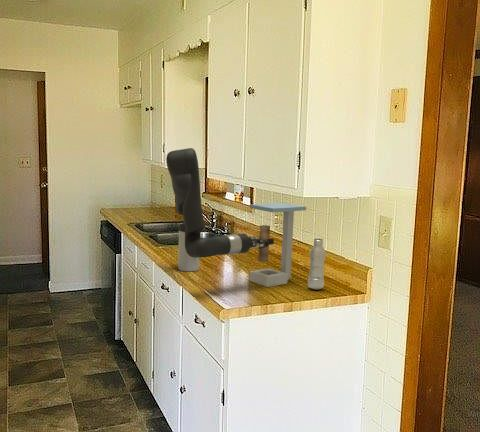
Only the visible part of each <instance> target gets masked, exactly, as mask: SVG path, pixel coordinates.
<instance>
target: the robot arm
mask: <svg viewBox="0 0 480 432" xmlns="http://www.w3.org/2000/svg"><path fill="white" fill-rule="evenodd" d="M165 159H166V160H165V161H166V167H167V171H168V173H169V175H170V179H171V185H172V186H171V187H172V190H173V193H174V197H175V209H176V212H177V214H179V215H181V216H182V217H183V222H181V223H179V225H178V250H177V252H178V254H177V255H178V256H177V257H178V258H177V259H178V260H177V262H178V263H177V269H178V270H179V271H181V272H195V271H199V270H200V258H202V259H203V258H208V257H214V256H223V255H225V256H226V255H238V254H244V253H245V254H246V253H248V252H249V251H250V249H256V248H258V249H259V248H260V249H261V248H265V247H269V248H270V246H272V245H274V243H275V239H274V238H269V239H261V238H259V236H254V235H250V236H249V235H247V233H233V234H225V235H220V236H219V235H218V236H217V235H216V236H213V237H201V232H202V231H203V230H204V229H205V220H204V214H203V209H202V208H203V207H202V195H201V184H200V183H201V182H200V181H201V179H200V169H199V168H200V167H199V161H198V155H197V152H196V150H195V149H194V148H193V147H190V148H189V147H188V148H183V149H182V148H181V149H176V150H171V151H169V152H168V153H167V154H166V158H165Z"/></svg>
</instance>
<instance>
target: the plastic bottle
mask: <svg viewBox="0 0 480 432" xmlns="http://www.w3.org/2000/svg"><path fill="white" fill-rule="evenodd" d="M312 243H313V246H312V247H311V248H310V249H309V265H310V266H309V273H308V278H307V286H308V288H309V289H311V290H322V289H323V288H324V284H325V277H324V269H325V267H324V266H325V260H326V254H327V252H326V250H325V247H324V239H323V238H313V242H312Z"/></svg>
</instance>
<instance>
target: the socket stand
mask: <svg viewBox="0 0 480 432" xmlns="http://www.w3.org/2000/svg"><path fill="white" fill-rule="evenodd" d="M249 206H250V209H251V210H252V209H253V210H258V211H263V212H269V213H282V212H283V219H282V220H283V221H282V222H283V223H282V238H281V239H282V241H281V243H282V244H281V259H280V260H281V261H280V263H281V264H280V270H277V269H274V268H271V267H269V268H262V269H257V270H250V271H249V281H250V282H252V283H255V284H258V285H260V286H262V287H263V286H264V287H266V288H268V287H269V288H270V287H274V286H279V285H286V284H288V281H289V279H290V280H292V279H291V276H292V261H293V260H292V255H293V237H294V222H295V221H294V216H295V212H300V211H302V212H304V211H307V206H306V205H298V204H293V203H287V202H274V203H273V202H272V203H254V204H253V203H252V204H250V205H249Z"/></svg>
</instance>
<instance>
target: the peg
mask: <svg viewBox="0 0 480 432" xmlns="http://www.w3.org/2000/svg"><path fill="white" fill-rule="evenodd" d="M270 232H271V226H270V225H263V224H262V225H259V236H258V237H259V238H261V239H270V236H271V235H270V234H271V233H270ZM269 249H270V246H269V247H265V248H261V249H260V248H259V247H258V255H257V256H258V260H257V261H259V262H260V263H261V262H262V263H265V262H266V263H267V262H269V254H270V252H269Z"/></svg>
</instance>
